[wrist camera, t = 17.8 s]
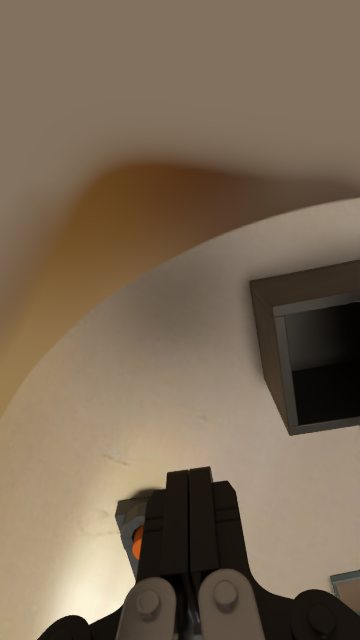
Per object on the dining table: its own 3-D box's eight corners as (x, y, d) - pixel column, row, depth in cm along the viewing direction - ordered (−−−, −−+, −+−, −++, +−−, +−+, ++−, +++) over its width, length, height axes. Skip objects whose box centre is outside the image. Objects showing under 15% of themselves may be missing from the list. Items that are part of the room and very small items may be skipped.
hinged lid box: (264, 379, 36) (289, 436, 27) (249, 281, 33) (271, 306, 24) (398, 356, 35) (474, 408, 26) (395, 252, 32) (479, 267, 23)
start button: (170, 546, 38) (169, 561, 37) (139, 550, 39) (136, 565, 37) (163, 521, 37) (162, 535, 36) (131, 525, 38) (128, 540, 36)
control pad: (216, 621, 47) (218, 657, 43) (158, 627, 47) (155, 664, 44) (181, 482, 40) (180, 510, 36) (115, 492, 41) (107, 520, 37)
